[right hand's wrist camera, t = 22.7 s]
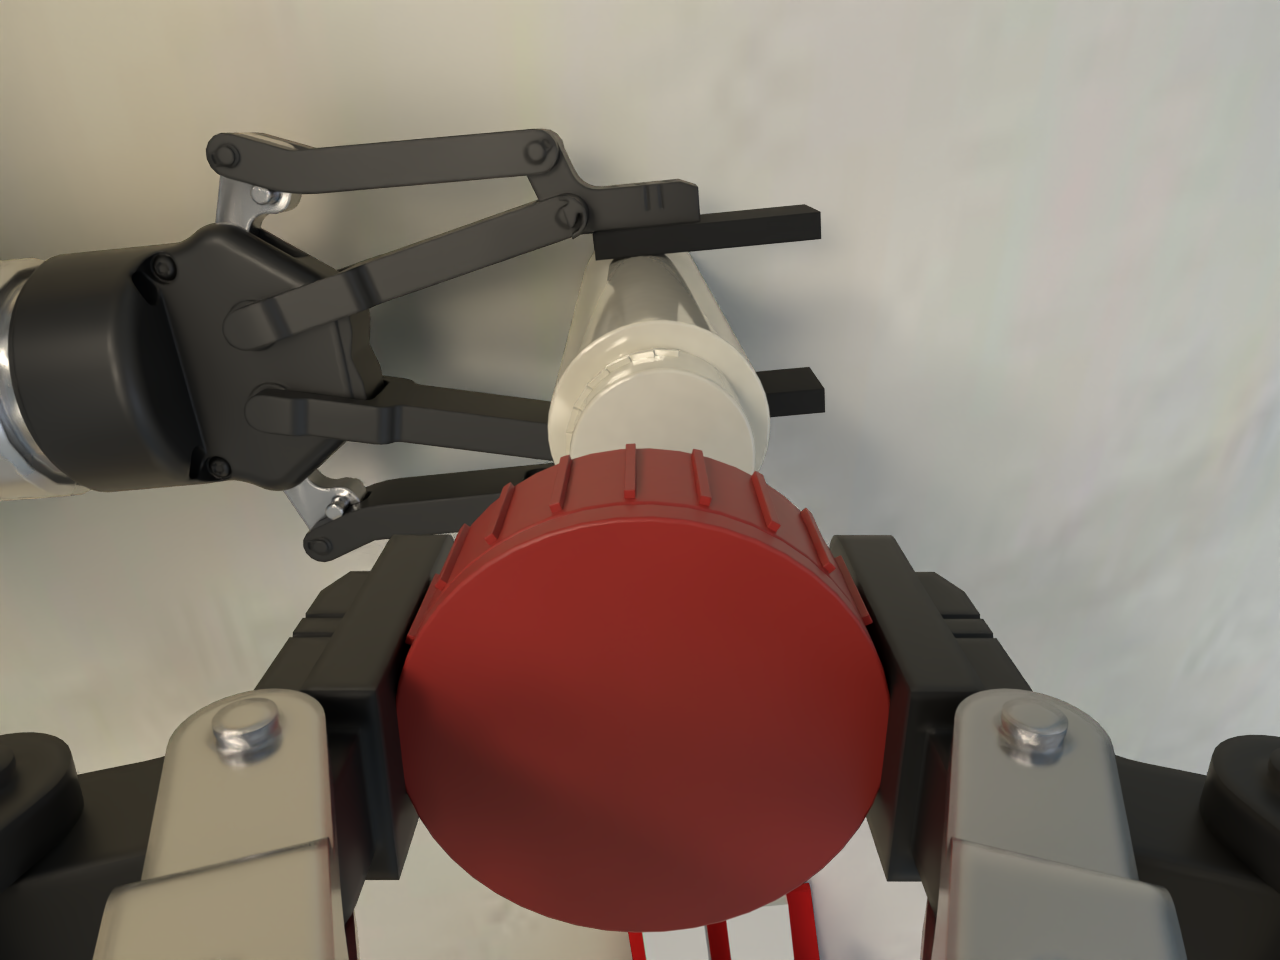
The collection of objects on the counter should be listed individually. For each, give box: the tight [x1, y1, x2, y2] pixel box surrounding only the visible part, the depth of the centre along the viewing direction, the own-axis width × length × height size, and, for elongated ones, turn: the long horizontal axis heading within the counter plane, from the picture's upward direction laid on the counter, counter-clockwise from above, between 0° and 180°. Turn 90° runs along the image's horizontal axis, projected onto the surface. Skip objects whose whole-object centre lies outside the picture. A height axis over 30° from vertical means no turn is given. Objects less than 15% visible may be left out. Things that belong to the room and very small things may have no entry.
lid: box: [396, 443, 890, 933], centre depth 10 cm, size 5×5×2 cm
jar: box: [548, 252, 770, 475], centre depth 26 cm, size 4×4×19 cm
